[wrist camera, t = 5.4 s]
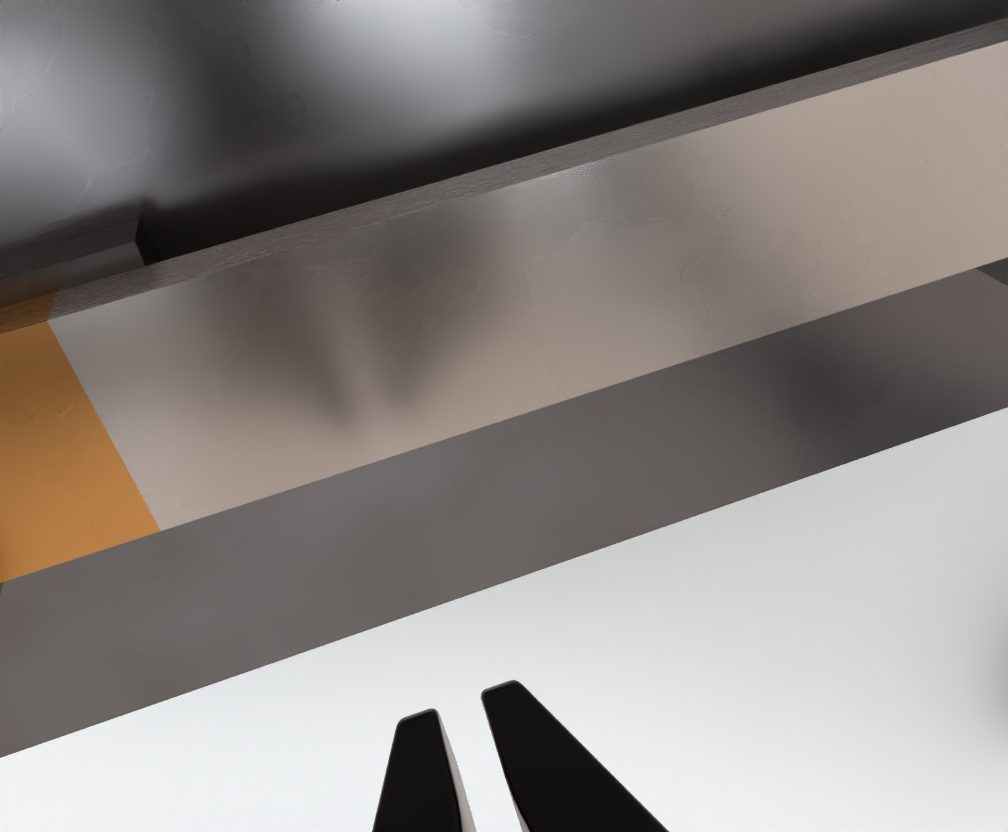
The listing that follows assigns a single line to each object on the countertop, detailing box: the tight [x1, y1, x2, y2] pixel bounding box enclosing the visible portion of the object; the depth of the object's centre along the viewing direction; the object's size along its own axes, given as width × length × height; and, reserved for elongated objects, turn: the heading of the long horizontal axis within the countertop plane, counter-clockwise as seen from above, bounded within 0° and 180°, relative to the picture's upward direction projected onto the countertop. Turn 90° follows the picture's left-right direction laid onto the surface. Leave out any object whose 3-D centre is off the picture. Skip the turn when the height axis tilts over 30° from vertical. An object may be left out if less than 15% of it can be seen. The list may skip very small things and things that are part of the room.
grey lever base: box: [0, 0, 1008, 758], centre depth 13 cm, size 22×12×6 cm, turn 101°
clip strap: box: [0, 17, 1008, 583], centre depth 12 cm, size 17×3×1 cm, turn 101°
